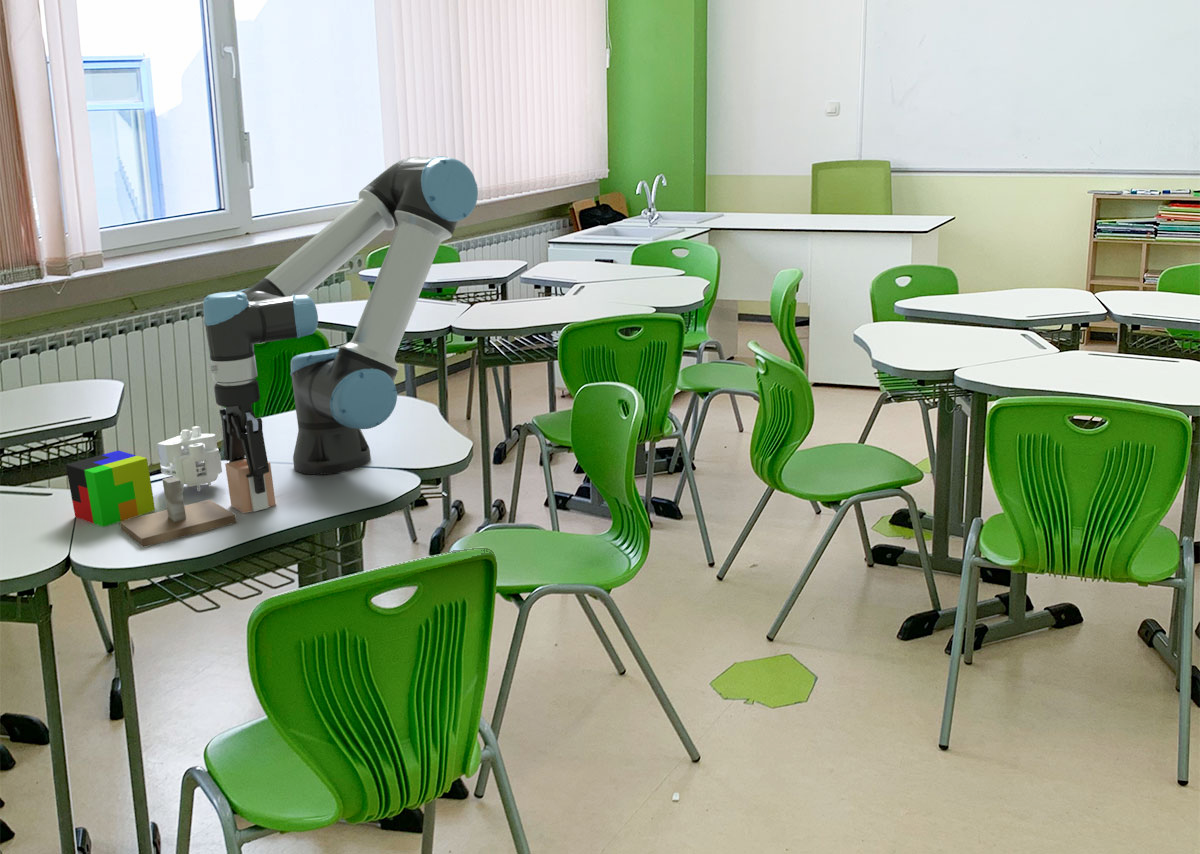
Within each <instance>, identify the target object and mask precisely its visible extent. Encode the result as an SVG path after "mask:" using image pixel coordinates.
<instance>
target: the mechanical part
mask: <svg viewBox="0 0 1200 854" xmlns="http://www.w3.org/2000/svg"><path fill="white" fill-rule="evenodd" d="M156 444H157V450H158V454H159V462H160V472H161V473H162V474H163V475H166V476H171V477H176V478H177V479H179V480H180V482H181V488H182V493H183V492H184V487H185V485H186V486H187V487H195V486H196V487H197V488H196V489H197V492H198V491H199V492H200V491H201V486H202V485H205V484H207V485H208V486H211V484H212V483H213V482H215V481H217V479H218V477H219V475H220V474H221V473H222V472H223V468H222V460H221V459H222V458H221V455H220V454H221V453H220V450H219V448H218V445H217V444H218V443H217V437H216V434H215V433H202V429H201V426H192V427H191V430H190V429H182V430H181V432H180V433H179V435H177V436H174V437H171V438H168V439H166V440H163V441H160V442H157V443H156Z"/></svg>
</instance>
